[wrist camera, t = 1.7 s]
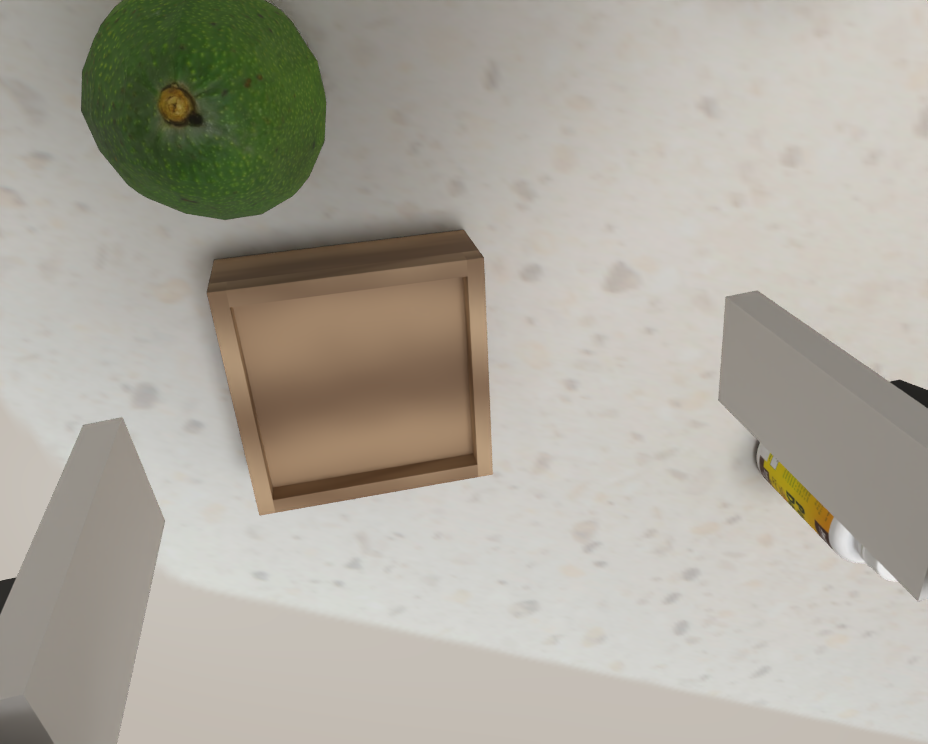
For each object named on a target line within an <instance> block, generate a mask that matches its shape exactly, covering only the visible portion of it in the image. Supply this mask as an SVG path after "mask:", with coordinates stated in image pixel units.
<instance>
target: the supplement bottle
mask: <svg viewBox="0 0 928 744" xmlns="http://www.w3.org/2000/svg"><path fill="white" fill-rule="evenodd" d="M757 465H758V468H759V470H760V472H761V474H762V475H763V476H764V478H765V479H766V480H767V481H768V482H769V483H770V484H771V485H772V486H773V487H774V488H775V489H776V491H777V492H778V493H779V494H780V495H781V496H782V497H783V498H784V499H785V500H786V501H787V502H788V503H789V504H790V505H791V506H792V507H793V508H794V509H795V510H796V511H797V512H798V514H799V515H800V516H801V517H802V518H803V519H804V520H805V521H806V522H807V523H808V524H809V525H810V526H811V527H812V528H813V529H814V530H815V531H816V532H817V533H818V534H819V536H820V537H821V538H822V539H823V540H824V541H825V542H826V543H827V544H828V545H829V546H830V547H831V548H832V549H833V550H834V551H835V552H836V553H837V554H838V555H839V556H840V557H842V558H843V559H845V560H847V561H850V562H853V563H866V564H867V565H868V566H869V567H871V568H872V569H873V570H874V571H875V572H876V573H877V574H879V575H880V576H881V577H882V578H883V579H885V580H888V581H897V580H896V579H895V578H894V577H893V576H892V575H891V574H890V573H889V572H888V571H887V570H886V569H885V568H884V567H883V566H882V565H881V564H880V563H879V562H878V561H877V560H876V559H875V558H874V557H873V556H872V555H871V554H870V553H869V551H868V550H867V549H866V548H865V547H864V546H863V545H862V544H861V543H860V542H859V541H858V540H857V539H856V538H855V537H854V536H853V535H852V534H851V533H850V532H849V531H848V530H847V529H846V528H845V527H844V526H843V525H842V524H841V523H840V522H839V521H838V520H837V519H836V518H835V517H834V516H833V515H832V514H831V513H830V512H829V511H828V510H827V509H826V508H825V507H824V506H823V505H822V504H821V503H820V502H819V501H818V500H817V499H816V498H815V497H814V496H813V495H812V494H811V493H810V492H809V491H808V490H807V489H806V488H805V487H804V486H803V485H802V484H801V483H800V482H799V481H798V480H797V479H796V478H795V477H794V476H793V475H792V474H791V473H790V472H789V471H788V470H787V469H786V468H785V467H784V466H783V465H782V464H781V463H780V462H779V461H778V460H777V459H776V458H775V457H774V456H773V455H772V454H771V453H770V452H769V451H768V450H767V449H766V448H765V447H764V446H763V445H762V444H761V443H760V444H759V447H758V450H757Z"/></svg>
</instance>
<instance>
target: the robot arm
mask: <svg viewBox="0 0 928 744" xmlns="http://www.w3.org/2000/svg"><path fill="white" fill-rule="evenodd" d="M718 400H719V401H720V402H721V403H722V404H723V405H724V406H725V408H726V409H727V410H728V411H729V412H730V413H731V414H732V415H733V416H734V417H735V418H736V419H737V420H738V421H739V422H740V423H741V424H742V425H743V426H744V427H745V428H746V429H747V430H748V431H749V432H750V433H751V434H752V435H753V436H754V437H755V438H756V439H757V440H758V441H759V442H760V443H761V444H762V445H763V446H764V447H765V448H766V449H767V450H768V451H769V452H770V453H771V454H772V455H773V456H774V457H775V458H776V459H777V460H778V461H779V462H780V463H781V464H782V465H783V466H784V467H785V468H786V469H787V470H788V471H789V472H790V473H791V474H792V475H793V476H794V477H795V478H796V479H797V480H798V481H799V482H800V483H801V484H802V485H803V486H804V487H805V488H806V489H807V490H808V491H809V492H810V493H811V494H812V495H813V496H814V497H815V498H816V499H817V500H818V501H819V502H820V503H821V504H822V505H823V506H824V507H825V508H826V509H827V510H828V511H829V512H830V513H831V514H832V515H833V516H834V517H835V518H836V519H837V520H838V521H839V522H840V523H841V524H842V525H843V526H844V527H845V528H846V529H847V530H848V531H849V532H850V533H851V534H852V535H853V536H854V537H855V538H856V539H857V540H858V541H859V542H860V543H861V544H862V545H863V546H864V547H865V548H866V549H867V550H868V551H869V553H870V554H871V555H872V556H873V557H874V558H875V559H876V560H877V561H878V562H879V563H880V564H881V565H882V566H883V567H884V568H885V569H886V570H887V571H888V572H889V573H890V574H891V575H892V576H893V577H894V578H895V579H896V580H897V581H898V582H899V583H900V584H901V585H902V586H903V587H904V588H905V589H906V590H907V591H908V592H909V593H910V594H911V595H912V596H913V597H914V598H915V599H916V600H917V601H918V602H919V601H922V600H926V599H928V390H926V389H923V388H920V387H918V386H915V385H912V384H910V383H907V382H904V381H902V380H895V381H891V382H889V381H887V380H886V379H884V378H883V377H882V376H880V375H879V374H877V373H876V372H874V371H873V370H871V369H870V368H869V367H867V366H866V365H864V364H863V363H861V362H860V361H858V360H857V359H856V358H854V357H853V356H851V355H850V354H848V353H847V352H845V351H844V350H843V349H841V348H840V347H838V346H837V345H835V344H834V343H832V342H831V341H829V340H828V339H827V338H825V337H824V336H822V335H821V334H819V333H818V332H816V331H815V330H814V329H812V328H811V327H809V326H808V325H806V324H805V323H803V322H802V321H801V320H799V319H798V318H796V317H795V316H793V315H792V314H790V313H789V312H788V311H786V310H785V309H783V308H782V307H780V306H779V305H777V304H776V303H775V302H773V301H772V300H770V299H769V298H767V297H766V296H764V295H763V294H762V293H760V292H759V291H752V292H747V293H742V294H737V295H732V296H727V297H726V299H725V313H724V327H723V341H722V355H721V369H720V383H719V397H718ZM164 523H165V520H164V517H163V515H162V512H161V510H160V508H159V505H158V503H157V500H156V498H155V495H154V493H153V490H152V488H151V486H150V483H149V481H148V478H147V476H146V473H145V471H144V468H143V466H142V464H141V461H140V459H139V456H138V454H137V451H136V449H135V446H134V444H133V442H132V439H131V437H130V434H129V432H128V429H127V427H126V425H125V422H124V420H123V417H121V418H116V419H111V420H106V421H101V422H96V423H91V424H86V425H83V427H82V429H81V431H80V433H79V436H78V438H77V440H76V443H75V445H74V447H73V449H72V452H71V454H70V456H69V459H68V461H67V463H66V465H65V468H64V470H63V472H62V475H61V477H60V479H59V482H58V484H57V486H56V488H55V491H54V493H53V495H52V497H51V500H50V502H49V504H48V507H47V509H46V511H45V513H44V516H43V518H42V520H41V523H40V525H39V527H38V530H37V532H36V535H35V537H34V539H33V541H32V544H31V546H30V548H29V550H28V552H27V555H26V557H25V559H24V561H23V564H22V566H21V569H20V571H19V573H18V575H17V577H16V578H12V579H7V580H2V581H0V744H117V741H118V736H119V732H120V727H121V723H122V718H123V713H124V709H125V704H126V700H127V695H128V690H129V686H130V681H131V676H132V672H133V667H134V663H135V658H136V653H137V649H138V644H139V639H140V634H141V630H142V625H143V620H144V616H145V611H146V607H147V602H148V597H149V593H150V588H151V584H152V579H153V574H154V570H155V565H156V560H157V556H158V551H159V546H160V542H161V537H162V533H163V528H164Z"/></svg>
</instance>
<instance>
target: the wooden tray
mask: <svg viewBox="0 0 928 744" xmlns="http://www.w3.org/2000/svg"><path fill="white" fill-rule="evenodd" d="M207 296H208V300H209V305H210V309H211V313H212V317H213V321H214V326H215V330H216V334H217V338H218V343H219V347H220V351H221V355H222V359H223V364H224V368H225V372H226V376H227V381H228V385H229V389H230V393H231V397H232V402H233V406H234V410H235V414H236V418H237V423H238V427H239V431H240V435H241V440H242V444H243V448H244V452H245V456H246V461H247V465H248V469H249V473H250V478H251V482H252V486H253V490H254V494H255V499H256V503H257V507H258V511H259V515H265V514H271V513H276V512H282V511H288V510H293V509H299V508H305V507H310V506H316V505H322V504H328V503H333V502H339V501H345V500H350V499H356V498H362V497H367V496H373V495H379V494H384V493H390V492H396V491H401V490H407V489H413V488H418V487H424V486H430V485H435V484H441V483H447V482H452V481H458V480H464V479H469V478H475V477H481V476H486V475H492V474H493V470H492V445H491V421H490V396H489V372H488V347H487V322H486V298H485V273H484V257H483V256H482V254H481V253H480V252H479V250H478V249H477V247H476V246H475V245H474V243H473V242H472V240H471V239H470V238H469V236H468V235H467V234H466V232H465V231H464V230H458V231H450V232H441V233H433V234H425V235H416V236H408V237H400V238H391V239H383V240H375V241H366V242H358V243H350V244H341V245H333V246H325V247H316V248H308V249H300V250H291V251H283V252H275V253H266V254H258V255H250V256H241V257H233V258H225V259H216V260H214V262H213V267H212V271H211V276H210V280H209V285H208V289H207Z"/></svg>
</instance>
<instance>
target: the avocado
mask: <svg viewBox="0 0 928 744" xmlns="http://www.w3.org/2000/svg"><path fill="white" fill-rule="evenodd" d="M81 111H82V113H83V116H84V118H85V120H86V122H87V124H88V127H89V129H90V131H91V133H92V135H93V138H94V140H95V142H96V144H97V146H98V148H99V150H100V152H101V153H102V154H103V155H104V156H105V158H106V159H107V160H108V161H109V163H110V164H111V165H112V166H113V167H114V169H115V170H116V171H117V172H118V173H119V175H120V176H121V177H122V178H123V180H124V181H125V182H126V183H127V184H128V185H129V186H130V187H132V188H133V189H134V190H135V191H137V192H138V193H140V194H141V195H143V196H145V197H146V198H149V199H151V200H154V201H156V202H159V203H161V204H164V205H166V206H169V207H171V208H173V209H176V210H178V211H181V212H183V213H186V214H192V215H198V216H204V217H211V218H217V219H223V220H227V219H234V218H240V217H247V216H253V215H260V214H263V213H265V212H266V211H268V210H270V209H271V208H273V207H275V206H276V205H278V204H280V203H282V202H283V201H285V200H287V199H288V198H290V197H292V196H293V195H294V194H295V193H296V192H297V191H298V190H299V189H300V188H301V187H302V185H303V184H304V183H305V181H306V180H307V179H308V177H309V176H310V174H311V171H312V169H313V167H314V164H315V162H316V160H317V157H318V155H319V153H320V150H321V148H322V146H323V144H324V140H325V117H326V97H325V92H324V87H323V83H322V79H321V75H320V71H319V67H318V62H317V60H316V58H315V57H314V55H313V54H312V53H311V51H310V50H309V48H308V47H307V45H306V43H305V42H304V40H303V39H302V37H301V35H300V34H299V32H298V30H297V29H296V27H295V26H294V24H293V22H292V21H291V20H290V19H289V18H288V17H287V16H286V15H285V14H284V13H283V12H282V11H281V10H280V9H278V8H277V7H275V6H273V5H272V4H270V3H269V2H267V1H265V0H123V1H121V2H120V3H119V4H118V5H117V6H115V7H114V9H113V10H112V11H111V12H110V14H109V15H108V16H107V17H106V19H105V20H104V21H103V23H102V24H101V25H100V28H99V30H98V33H97V34H96V36H95V38H94V40H93V43H92V46H91V48H90V51H89V54H88V57H87V59H86V62H85V65H84V68H83V70H82V97H81Z"/></svg>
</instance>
